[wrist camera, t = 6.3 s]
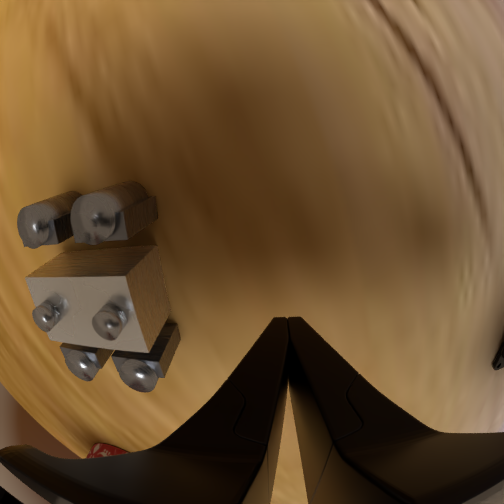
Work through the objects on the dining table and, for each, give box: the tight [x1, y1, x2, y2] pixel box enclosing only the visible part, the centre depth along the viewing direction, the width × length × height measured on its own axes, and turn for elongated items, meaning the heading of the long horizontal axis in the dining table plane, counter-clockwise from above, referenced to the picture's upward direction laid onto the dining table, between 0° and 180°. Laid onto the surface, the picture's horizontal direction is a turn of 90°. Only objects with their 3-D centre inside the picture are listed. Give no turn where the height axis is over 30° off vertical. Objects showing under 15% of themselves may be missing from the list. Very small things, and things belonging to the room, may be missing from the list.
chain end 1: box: [17, 191, 114, 381], centre depth 12 cm, size 2×9×3 cm, turn 3°
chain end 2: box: [70, 181, 181, 392], centre depth 11 cm, size 2×9×3 cm, turn 3°
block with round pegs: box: [25, 245, 171, 353], centre depth 11 cm, size 6×4×4 cm, turn 95°
